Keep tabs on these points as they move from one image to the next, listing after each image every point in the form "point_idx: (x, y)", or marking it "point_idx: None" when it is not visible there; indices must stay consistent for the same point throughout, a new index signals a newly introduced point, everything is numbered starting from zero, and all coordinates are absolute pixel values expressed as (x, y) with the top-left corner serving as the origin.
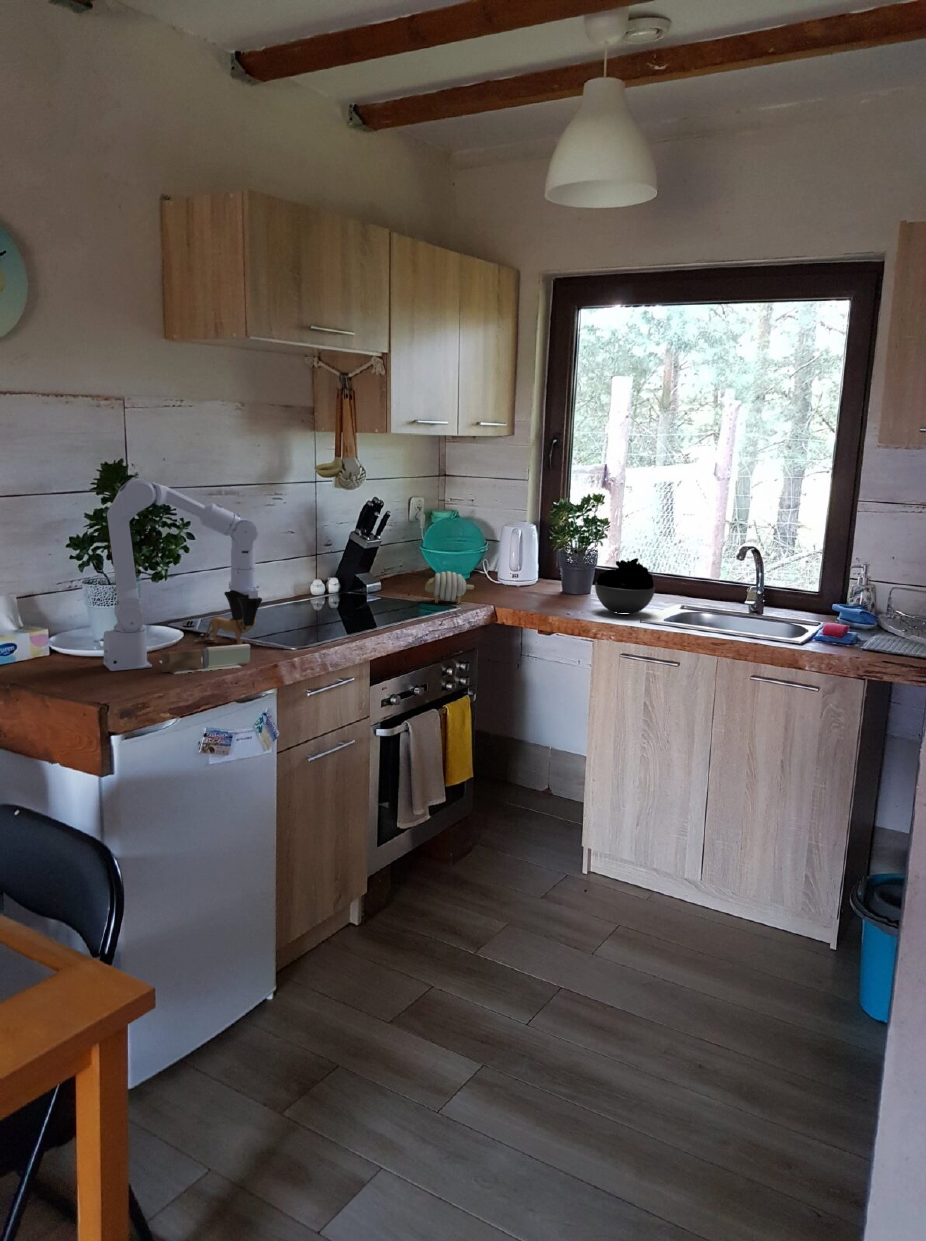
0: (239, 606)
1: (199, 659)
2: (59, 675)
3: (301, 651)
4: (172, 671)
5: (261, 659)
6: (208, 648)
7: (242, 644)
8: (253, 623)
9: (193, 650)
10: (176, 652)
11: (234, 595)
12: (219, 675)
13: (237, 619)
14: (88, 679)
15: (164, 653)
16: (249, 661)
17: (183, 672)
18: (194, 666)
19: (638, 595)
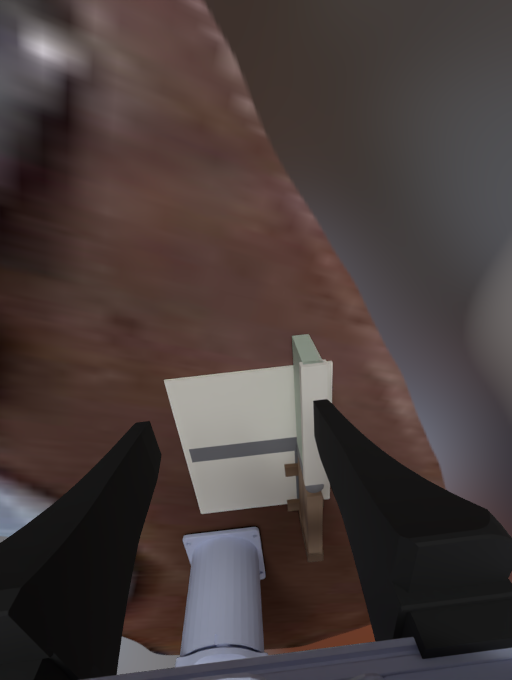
0: (121, 504)
1: None
2: (262, 617)
3: (121, 23)
4: (323, 504)
5: (242, 275)
6: (321, 483)
7: (302, 387)
8: (332, 404)
9: (313, 510)
10: (320, 540)
11: (96, 637)
12: (384, 423)
13: (154, 442)
14: (304, 593)
15: (320, 559)
16: (308, 337)
17: (329, 485)
18: None
19: None
